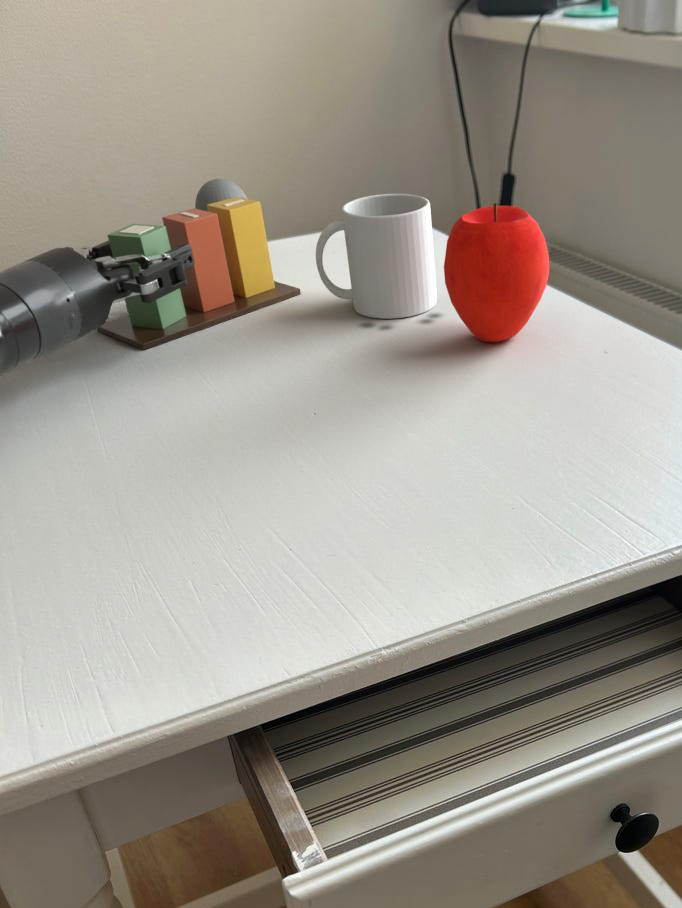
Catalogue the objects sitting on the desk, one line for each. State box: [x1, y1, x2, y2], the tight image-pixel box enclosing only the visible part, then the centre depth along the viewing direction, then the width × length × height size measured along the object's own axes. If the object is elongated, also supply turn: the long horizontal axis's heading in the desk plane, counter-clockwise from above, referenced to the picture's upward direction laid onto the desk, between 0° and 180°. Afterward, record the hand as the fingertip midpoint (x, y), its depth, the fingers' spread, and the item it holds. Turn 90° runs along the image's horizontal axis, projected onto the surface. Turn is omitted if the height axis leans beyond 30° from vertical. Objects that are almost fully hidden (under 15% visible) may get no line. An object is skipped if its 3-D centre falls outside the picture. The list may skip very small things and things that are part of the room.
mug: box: [315, 193, 438, 320], centre depth 101 cm, size 11×10×10 cm
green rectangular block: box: [107, 223, 186, 329], centre depth 99 cm, size 4×4×9 cm
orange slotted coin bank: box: [161, 207, 234, 312], centre depth 102 cm, size 4×4×9 cm
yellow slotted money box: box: [207, 197, 275, 298], centre depth 105 cm, size 4×4×9 cm
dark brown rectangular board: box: [96, 280, 302, 351], centre depth 105 cm, size 9×20×1 cm, turn 138°
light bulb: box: [194, 178, 248, 212], centre depth 113 cm, size 6×6×10 cm
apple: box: [443, 202, 550, 343], centre depth 91 cm, size 10×10×12 cm
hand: (155, 251), depth 99 cm, fingers open, 8 cm apart
